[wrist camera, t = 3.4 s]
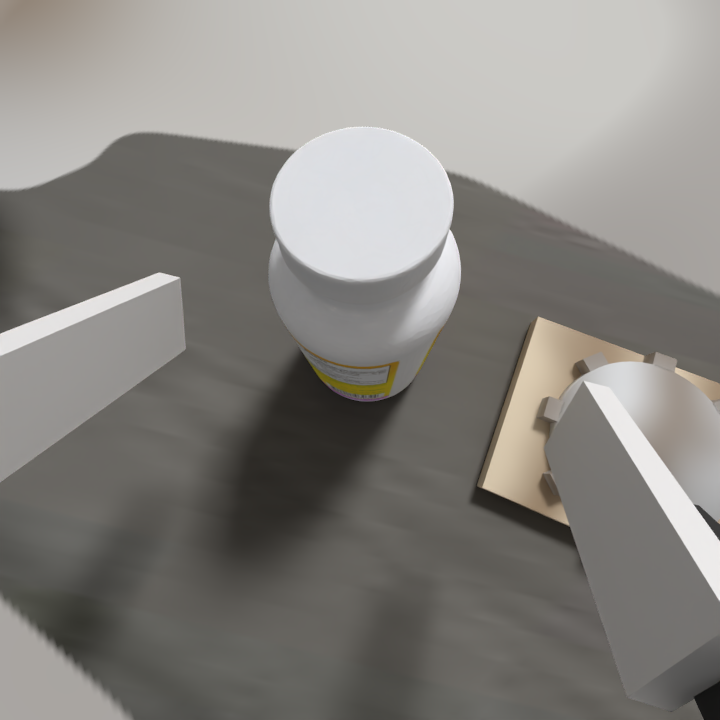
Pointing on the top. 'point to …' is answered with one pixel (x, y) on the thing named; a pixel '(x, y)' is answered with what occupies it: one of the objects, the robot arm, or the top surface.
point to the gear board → (634, 391)
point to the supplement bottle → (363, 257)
